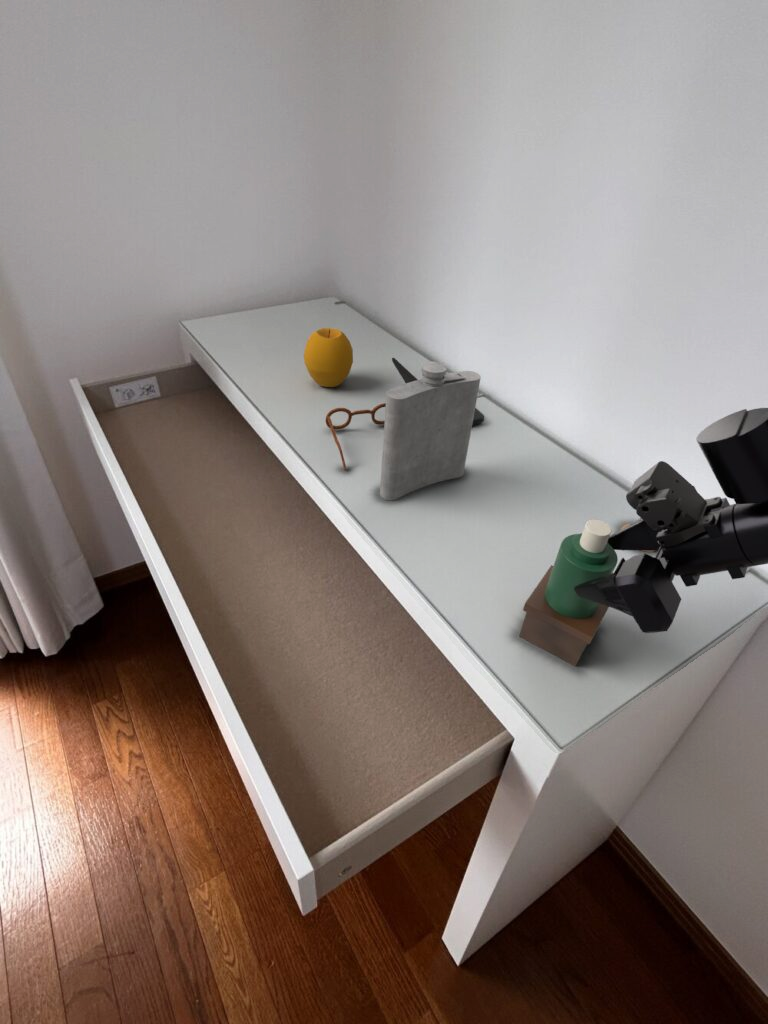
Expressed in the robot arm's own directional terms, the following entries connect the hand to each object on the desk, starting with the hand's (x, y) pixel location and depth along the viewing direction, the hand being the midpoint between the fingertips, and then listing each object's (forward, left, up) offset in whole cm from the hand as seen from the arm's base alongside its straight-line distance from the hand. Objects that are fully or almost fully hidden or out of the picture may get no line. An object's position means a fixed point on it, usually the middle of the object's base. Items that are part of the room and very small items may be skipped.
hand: (590, 566), depth 62 cm
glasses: (+40, -25, -12) cm, 49 cm away
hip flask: (+28, -20, -12) cm, 36 cm away
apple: (+58, -41, -12) cm, 72 cm away
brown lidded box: (+1, 0, -12) cm, 12 cm away
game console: (+35, -43, -12) cm, 57 cm away
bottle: (+1, 0, -6) cm, 6 cm away
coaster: (-6, -24, -12) cm, 28 cm away
